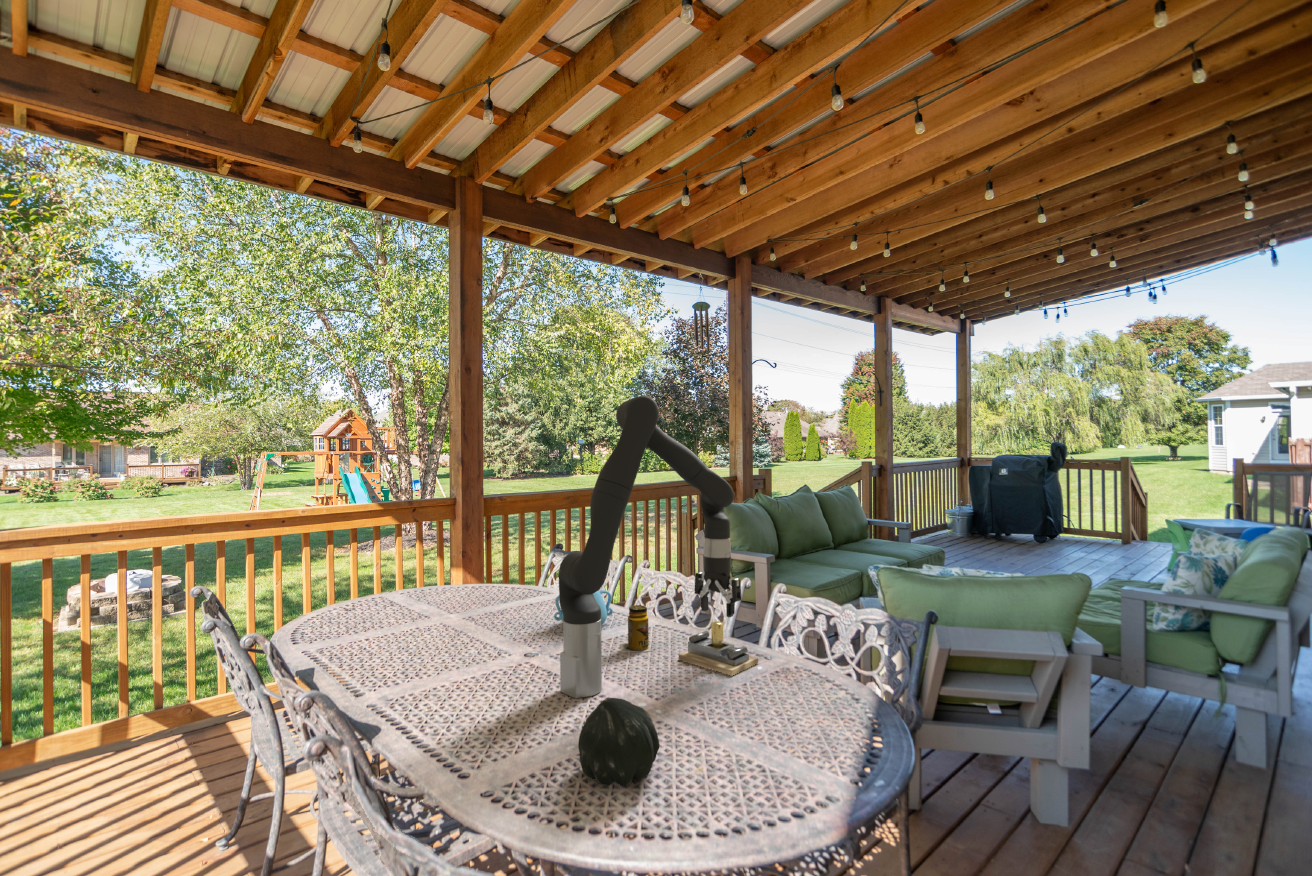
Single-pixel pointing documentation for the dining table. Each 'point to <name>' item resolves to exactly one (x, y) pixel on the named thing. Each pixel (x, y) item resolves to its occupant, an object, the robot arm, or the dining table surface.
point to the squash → (618, 743)
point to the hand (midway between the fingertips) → (717, 613)
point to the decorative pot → (598, 599)
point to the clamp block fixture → (717, 655)
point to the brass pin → (717, 634)
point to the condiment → (637, 630)
